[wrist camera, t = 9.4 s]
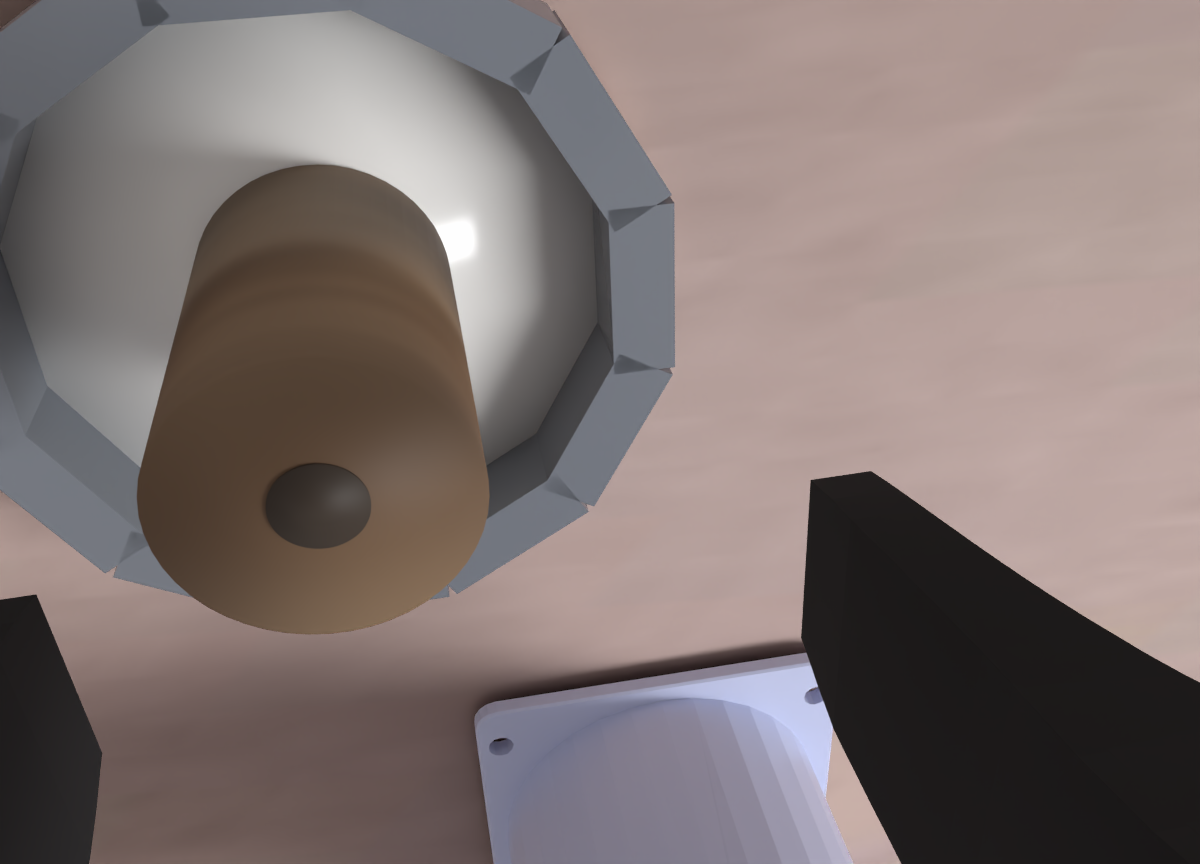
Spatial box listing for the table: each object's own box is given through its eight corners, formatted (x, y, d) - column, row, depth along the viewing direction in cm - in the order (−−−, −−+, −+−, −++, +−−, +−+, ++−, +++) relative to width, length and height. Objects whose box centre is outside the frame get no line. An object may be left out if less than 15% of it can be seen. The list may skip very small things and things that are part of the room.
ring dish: (652, 500, 22) (675, 563, 21) (66, 581, 21) (40, 655, 19) (641, -117, 17) (673, -97, 15) (-175, -62, 15) (-241, -33, 13)
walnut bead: (466, 373, 20) (507, 606, 15) (228, 409, 19) (188, 662, 14) (431, 148, 18) (467, 333, 13) (162, 183, 17) (88, 388, 12)
